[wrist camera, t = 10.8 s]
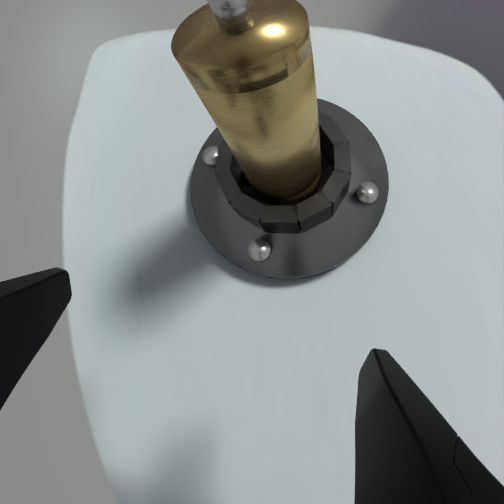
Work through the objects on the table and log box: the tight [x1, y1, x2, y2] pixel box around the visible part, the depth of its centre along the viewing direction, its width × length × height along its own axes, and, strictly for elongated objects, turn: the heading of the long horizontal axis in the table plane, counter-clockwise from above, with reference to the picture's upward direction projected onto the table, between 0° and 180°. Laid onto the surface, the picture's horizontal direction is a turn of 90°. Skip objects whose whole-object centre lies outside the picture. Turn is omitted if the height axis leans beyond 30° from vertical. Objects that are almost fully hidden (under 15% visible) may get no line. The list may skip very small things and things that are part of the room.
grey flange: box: [191, 99, 389, 279], centre depth 20 cm, size 14×14×4 cm
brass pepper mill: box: [171, 0, 322, 206], centre depth 14 cm, size 5×5×14 cm
